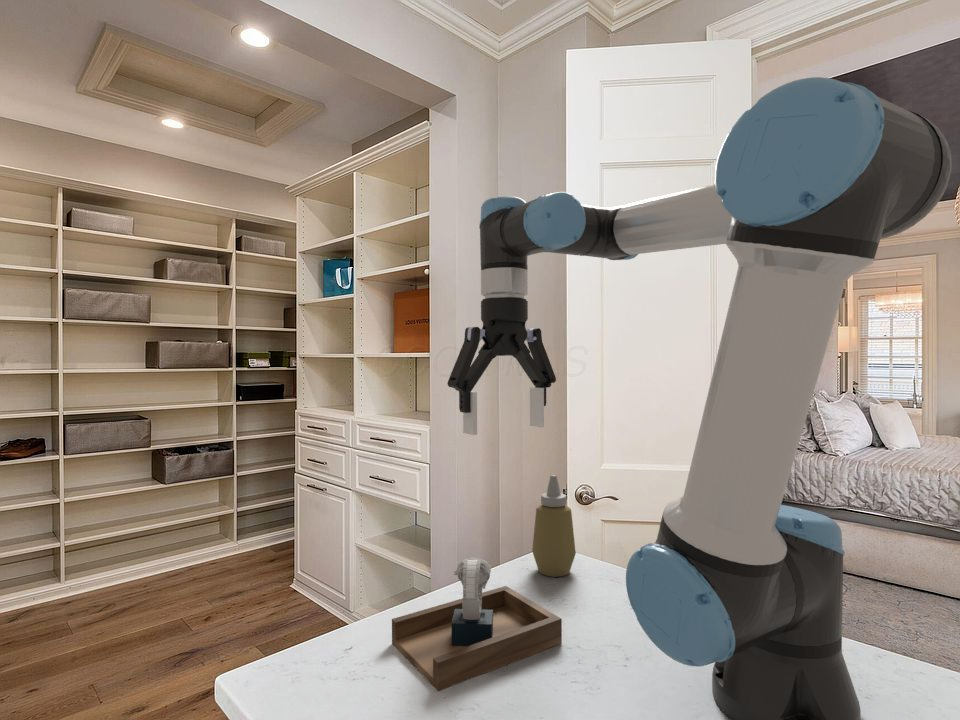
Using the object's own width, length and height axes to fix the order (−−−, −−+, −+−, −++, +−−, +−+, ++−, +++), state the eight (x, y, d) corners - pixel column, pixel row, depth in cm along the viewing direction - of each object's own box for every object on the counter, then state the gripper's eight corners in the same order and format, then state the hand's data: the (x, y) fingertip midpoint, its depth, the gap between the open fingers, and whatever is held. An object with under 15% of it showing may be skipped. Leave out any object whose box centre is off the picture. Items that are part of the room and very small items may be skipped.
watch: (493, 624, 83) (493, 550, 83) (491, 653, 75) (490, 572, 75) (455, 623, 84) (455, 549, 83) (449, 652, 75) (448, 571, 75)
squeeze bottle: (582, 568, 107) (582, 474, 106) (565, 583, 100) (564, 482, 99) (543, 560, 111) (543, 469, 111) (524, 574, 104) (524, 477, 104)
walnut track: (561, 643, 80) (561, 618, 80) (437, 691, 69) (437, 662, 69) (506, 607, 91) (505, 585, 91) (391, 643, 80) (391, 619, 80)
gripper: (546, 302, 100) (546, 421, 101) (424, 295, 86) (425, 434, 86) (576, 299, 94) (577, 425, 95) (451, 291, 80) (452, 440, 80)
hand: (505, 430), depth 91 cm, fingers open, 13 cm apart
